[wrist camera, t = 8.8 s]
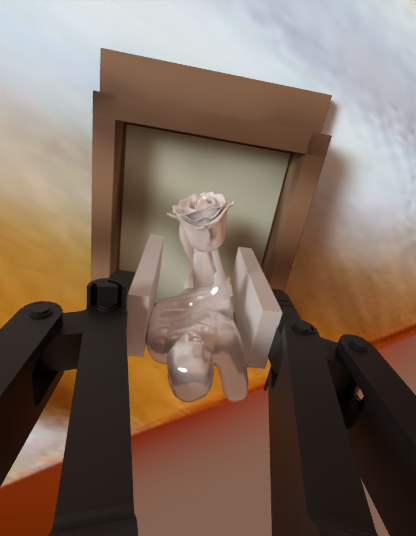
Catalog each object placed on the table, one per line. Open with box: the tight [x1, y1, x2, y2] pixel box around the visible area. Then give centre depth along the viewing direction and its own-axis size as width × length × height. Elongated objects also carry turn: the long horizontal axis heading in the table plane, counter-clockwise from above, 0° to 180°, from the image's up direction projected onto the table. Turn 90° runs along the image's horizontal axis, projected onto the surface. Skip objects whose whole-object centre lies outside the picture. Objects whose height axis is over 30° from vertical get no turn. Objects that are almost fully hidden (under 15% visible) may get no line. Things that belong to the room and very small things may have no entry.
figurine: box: [146, 192, 248, 402], centre depth 14 cm, size 5×9×12 cm, turn 16°
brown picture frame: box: [91, 48, 332, 331], centre depth 22 cm, size 20×14×4 cm
